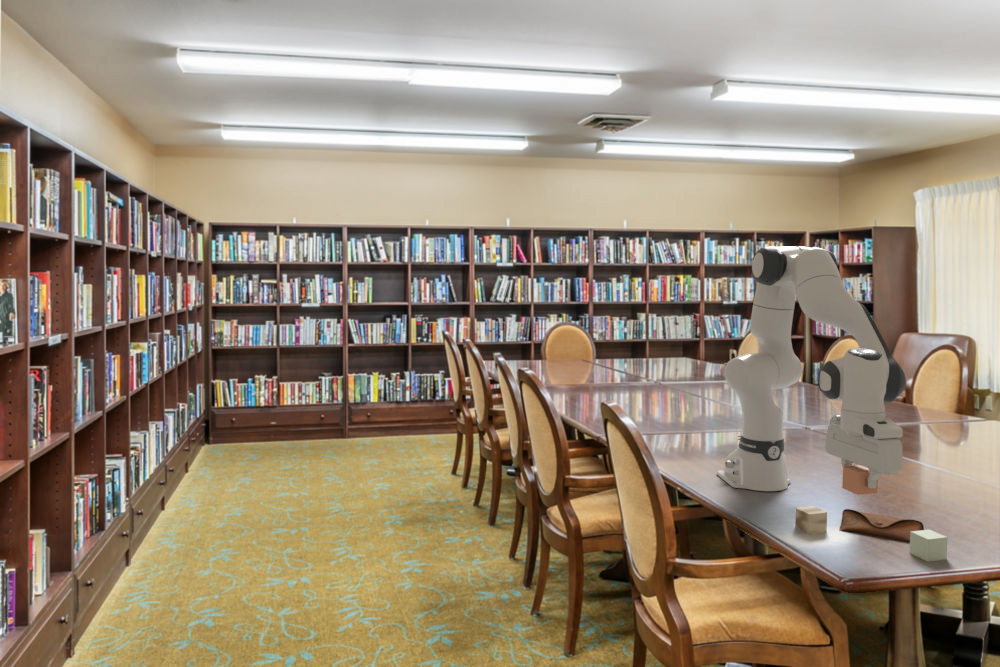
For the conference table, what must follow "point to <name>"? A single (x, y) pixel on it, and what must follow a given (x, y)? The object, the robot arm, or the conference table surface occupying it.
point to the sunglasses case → (879, 525)
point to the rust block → (857, 480)
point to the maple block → (811, 520)
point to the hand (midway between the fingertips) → (860, 483)
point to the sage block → (928, 545)
